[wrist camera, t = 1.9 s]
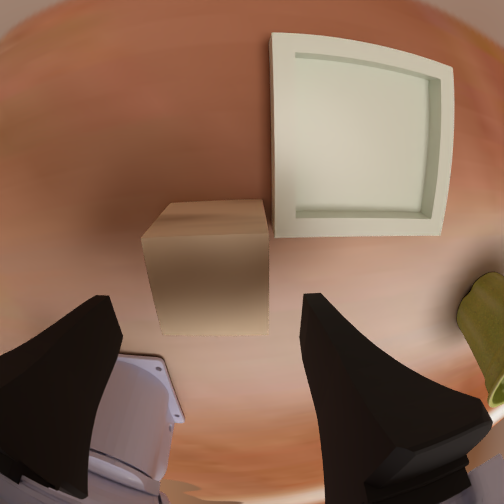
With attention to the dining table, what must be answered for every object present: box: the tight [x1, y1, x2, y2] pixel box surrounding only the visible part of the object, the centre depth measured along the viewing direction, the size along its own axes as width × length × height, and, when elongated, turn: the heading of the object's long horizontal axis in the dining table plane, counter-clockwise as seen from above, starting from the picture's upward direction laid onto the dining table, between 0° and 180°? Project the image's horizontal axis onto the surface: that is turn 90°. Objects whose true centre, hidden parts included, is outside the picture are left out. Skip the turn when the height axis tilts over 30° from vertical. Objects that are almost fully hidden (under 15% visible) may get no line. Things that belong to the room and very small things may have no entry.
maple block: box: [141, 199, 269, 336], centre depth 14 cm, size 5×5×5 cm
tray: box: [269, 33, 454, 238], centre depth 13 cm, size 10×10×2 cm
